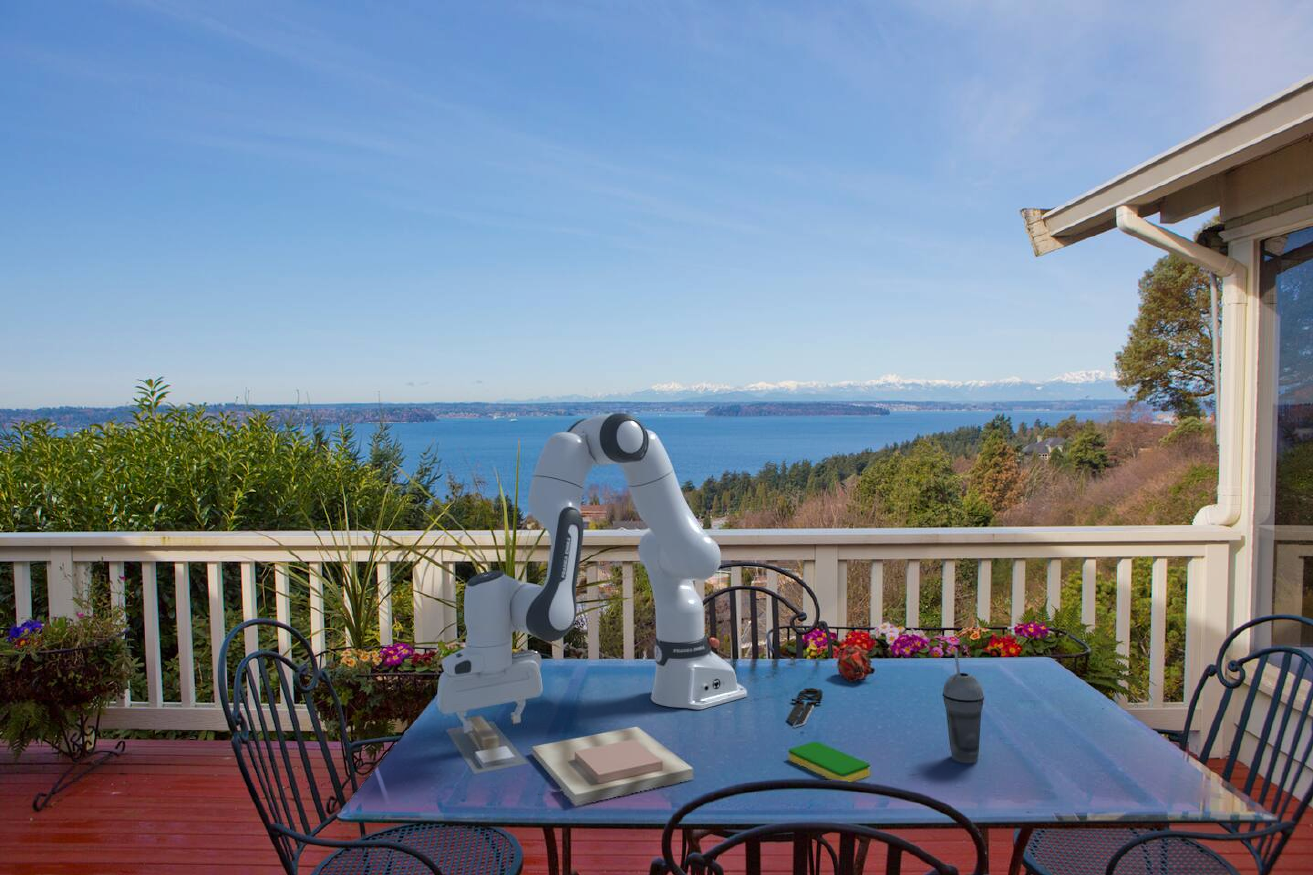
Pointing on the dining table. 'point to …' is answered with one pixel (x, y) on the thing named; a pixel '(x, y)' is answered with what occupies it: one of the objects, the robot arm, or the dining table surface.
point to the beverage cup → (963, 714)
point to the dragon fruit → (854, 663)
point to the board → (587, 789)
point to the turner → (488, 744)
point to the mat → (469, 749)
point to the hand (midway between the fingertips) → (492, 727)
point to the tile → (618, 761)
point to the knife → (808, 707)
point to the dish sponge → (829, 762)
